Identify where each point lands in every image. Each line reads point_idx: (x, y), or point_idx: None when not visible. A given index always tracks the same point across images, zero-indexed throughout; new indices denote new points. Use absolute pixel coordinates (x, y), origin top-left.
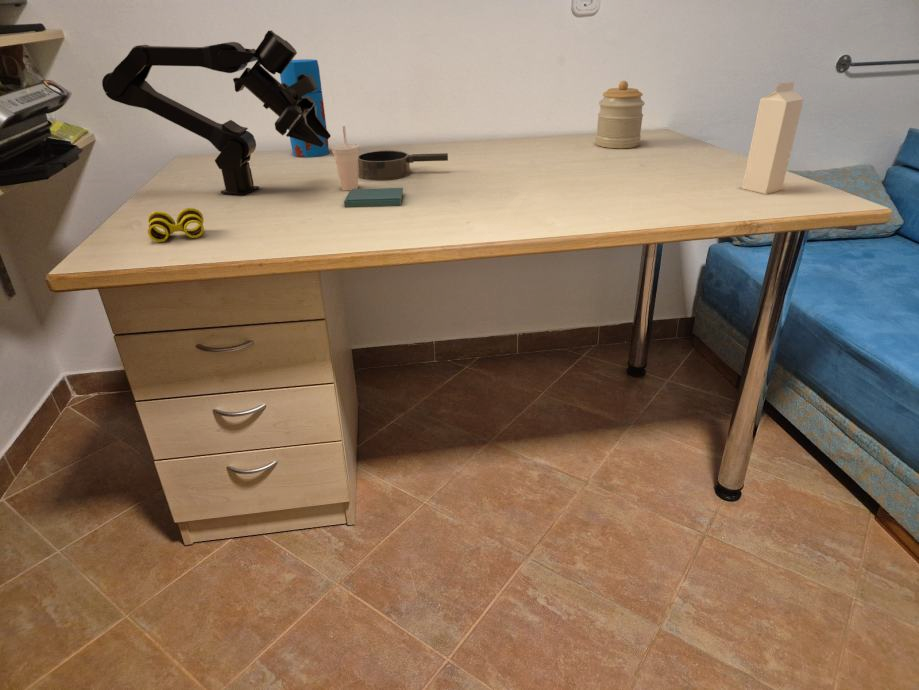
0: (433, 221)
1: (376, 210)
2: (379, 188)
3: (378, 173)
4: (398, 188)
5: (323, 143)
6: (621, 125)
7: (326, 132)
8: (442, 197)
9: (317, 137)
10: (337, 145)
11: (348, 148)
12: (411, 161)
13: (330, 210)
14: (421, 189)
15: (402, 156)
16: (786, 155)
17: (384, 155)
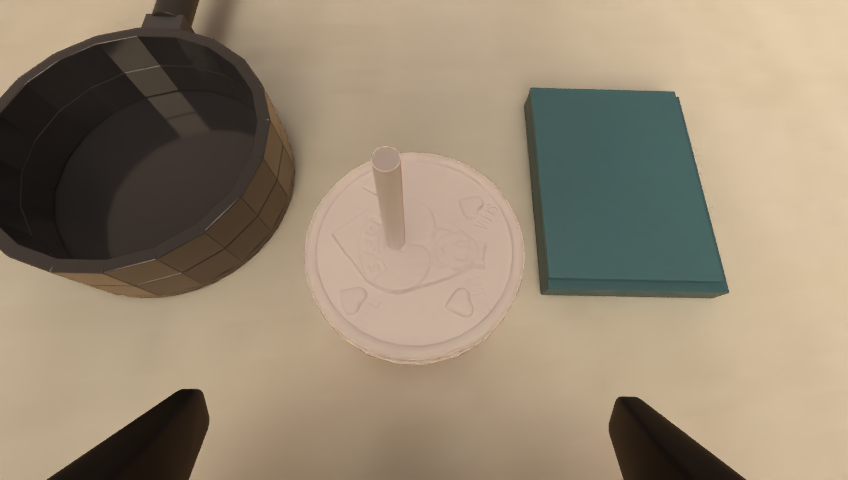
0: (809, 28)
1: (733, 179)
2: (540, 165)
3: (283, 182)
4: (540, 101)
5: (635, 397)
6: None
7: (170, 436)
8: (562, 2)
9: (721, 463)
10: (349, 317)
11: (484, 215)
12: None
13: (765, 353)
14: (460, 53)
15: (88, 69)
16: None
17: (12, 149)
